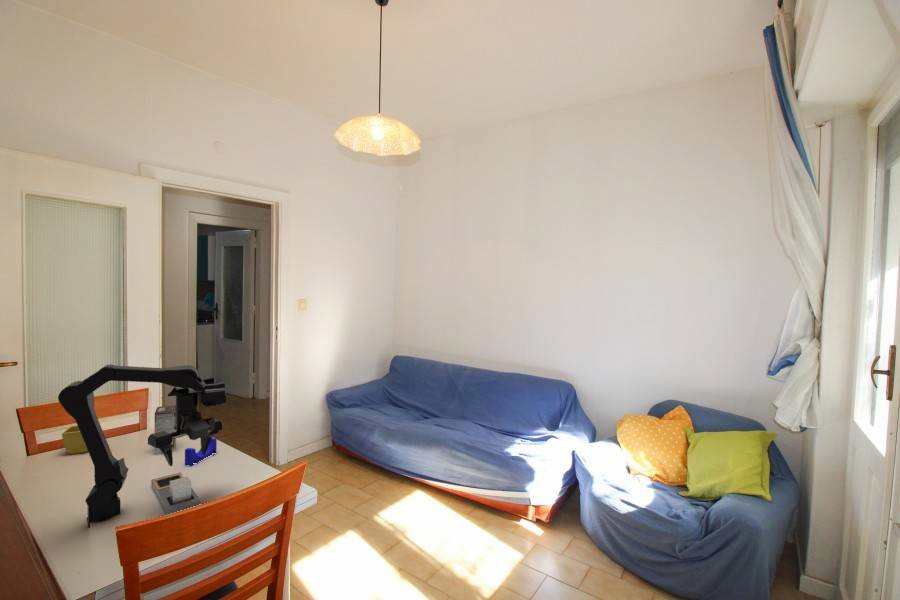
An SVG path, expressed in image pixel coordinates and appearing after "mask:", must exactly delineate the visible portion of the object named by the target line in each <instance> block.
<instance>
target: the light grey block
mask: <svg viewBox="0 0 900 600" xmlns="http://www.w3.org/2000/svg"><path fill="white" fill-rule="evenodd" d="M183 477H184V478H180V479H176V480H172V481H170V505H171V506H172V505H175V504H179V503H182V502H185V501H189V500H191V488H192V481H191V479H190V478H189V477H188V476H183Z"/></svg>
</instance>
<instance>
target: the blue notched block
mask: <svg viewBox="0 0 900 600" xmlns="http://www.w3.org/2000/svg"><path fill="white" fill-rule="evenodd" d="M217 441H218V440H217V438H215V437H212V439H211V441H210V443H209V446H208V449H207V451H206V454H205V455H202V452H201V448H200V449H199V450H198V451H197V452H196V448H193V447H187V448H185V449H184V466H185V465H189V466H188V467H194V466H195V465H194V464H193V463H197V464H199V463H200V462H199V461H201V460H203V459H204V458H206V457H208V456H210V455H212V453H216V452H217V451H218V450H217V444H218V442H217ZM217 453H218V452H217ZM217 453H216V454H217ZM203 461H204V460H203ZM198 462H199V463H198ZM201 462H202V461H201ZM193 465H194V466H193Z"/></svg>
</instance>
